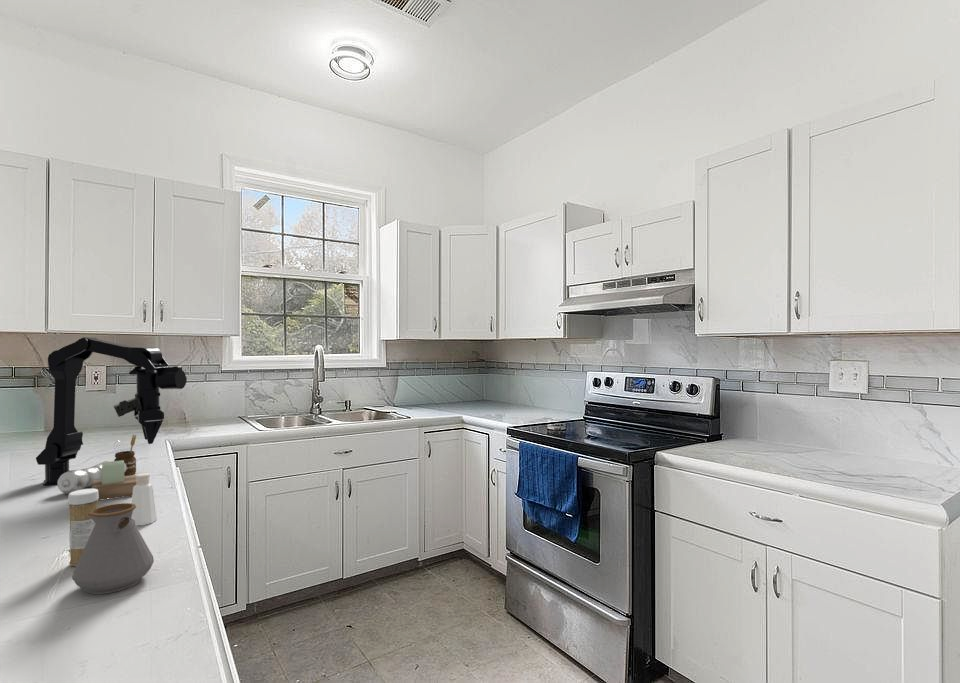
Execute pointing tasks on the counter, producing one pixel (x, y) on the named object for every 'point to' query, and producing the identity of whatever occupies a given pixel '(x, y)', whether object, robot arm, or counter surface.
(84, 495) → the sprinkles bottle
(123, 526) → the coffee pot
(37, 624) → the counter surface
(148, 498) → the salt shaker
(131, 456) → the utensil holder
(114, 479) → the sage cube
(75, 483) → the plastic bottle
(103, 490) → the walnut block
